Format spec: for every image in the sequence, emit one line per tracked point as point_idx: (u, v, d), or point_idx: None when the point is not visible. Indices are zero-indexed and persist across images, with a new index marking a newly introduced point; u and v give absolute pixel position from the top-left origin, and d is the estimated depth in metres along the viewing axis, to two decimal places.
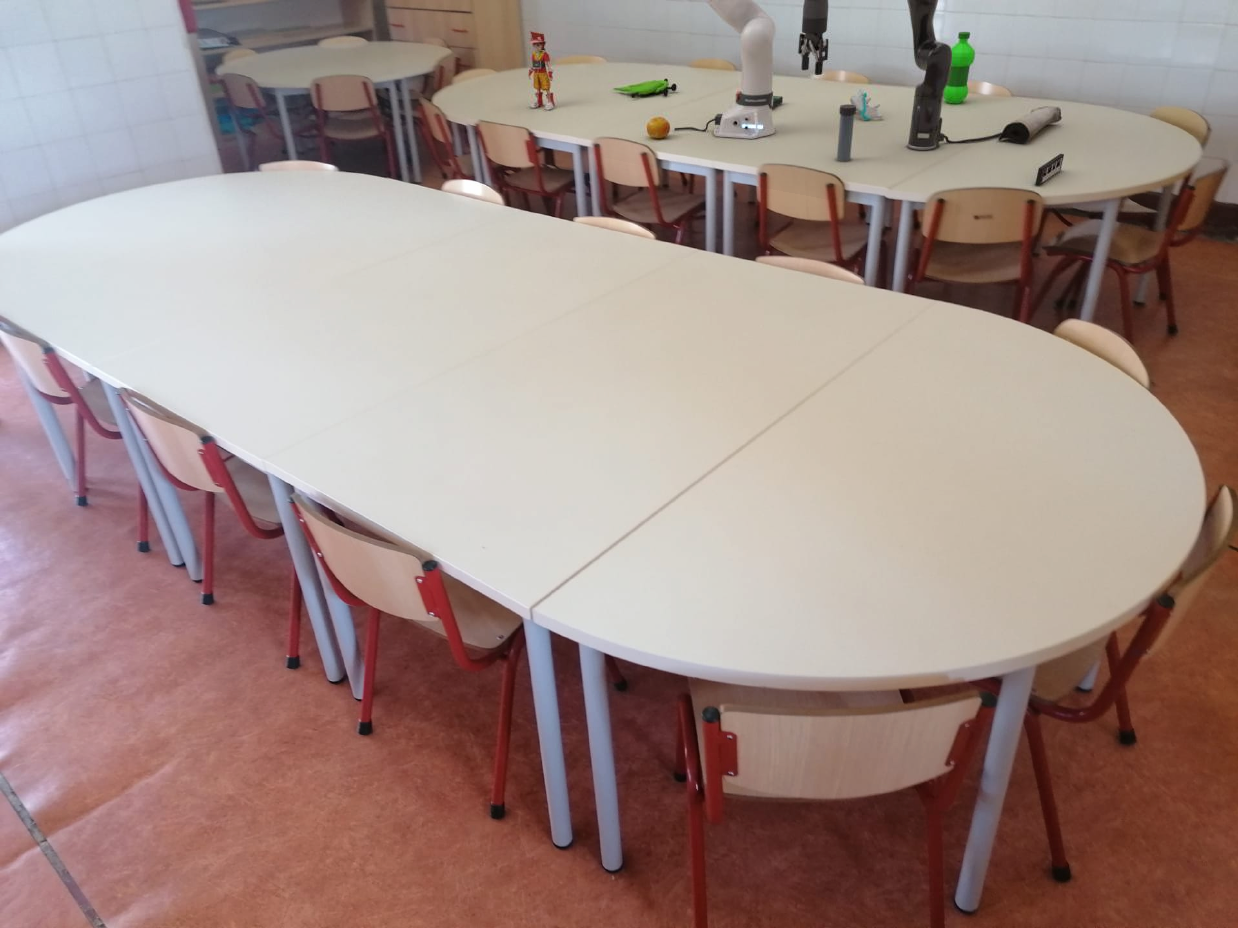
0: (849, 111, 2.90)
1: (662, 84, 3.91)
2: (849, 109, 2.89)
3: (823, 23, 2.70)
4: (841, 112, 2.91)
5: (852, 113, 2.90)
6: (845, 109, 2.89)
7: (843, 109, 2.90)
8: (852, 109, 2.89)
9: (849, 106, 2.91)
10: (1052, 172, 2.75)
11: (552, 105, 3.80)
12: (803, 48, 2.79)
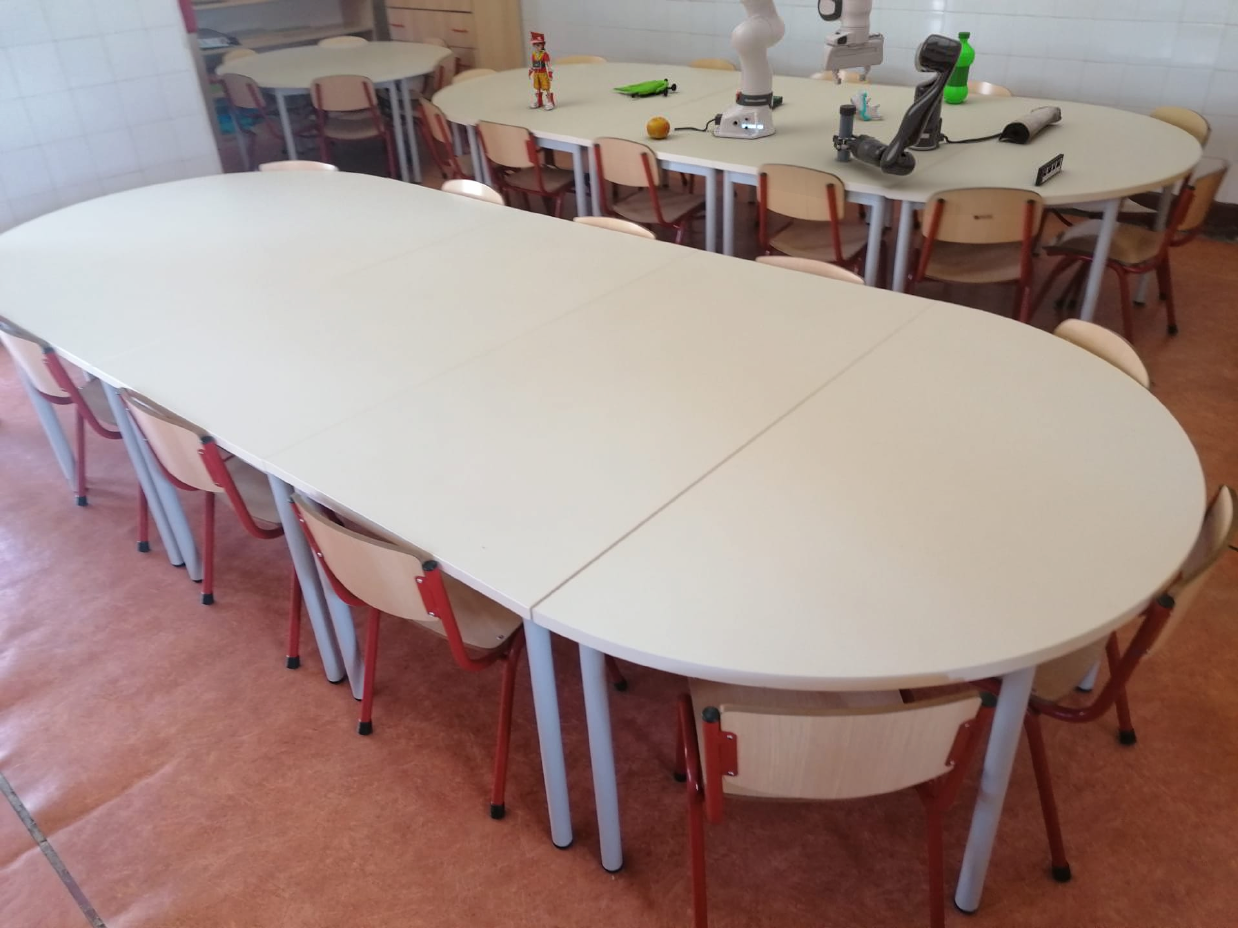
0: (849, 111, 2.90)
1: (662, 84, 3.91)
2: (849, 109, 2.89)
3: None
4: (841, 112, 2.91)
5: (852, 113, 2.90)
6: (845, 109, 2.89)
7: (843, 109, 2.90)
8: (852, 109, 2.89)
9: (849, 106, 2.91)
10: (1052, 172, 2.75)
11: (552, 105, 3.80)
12: None
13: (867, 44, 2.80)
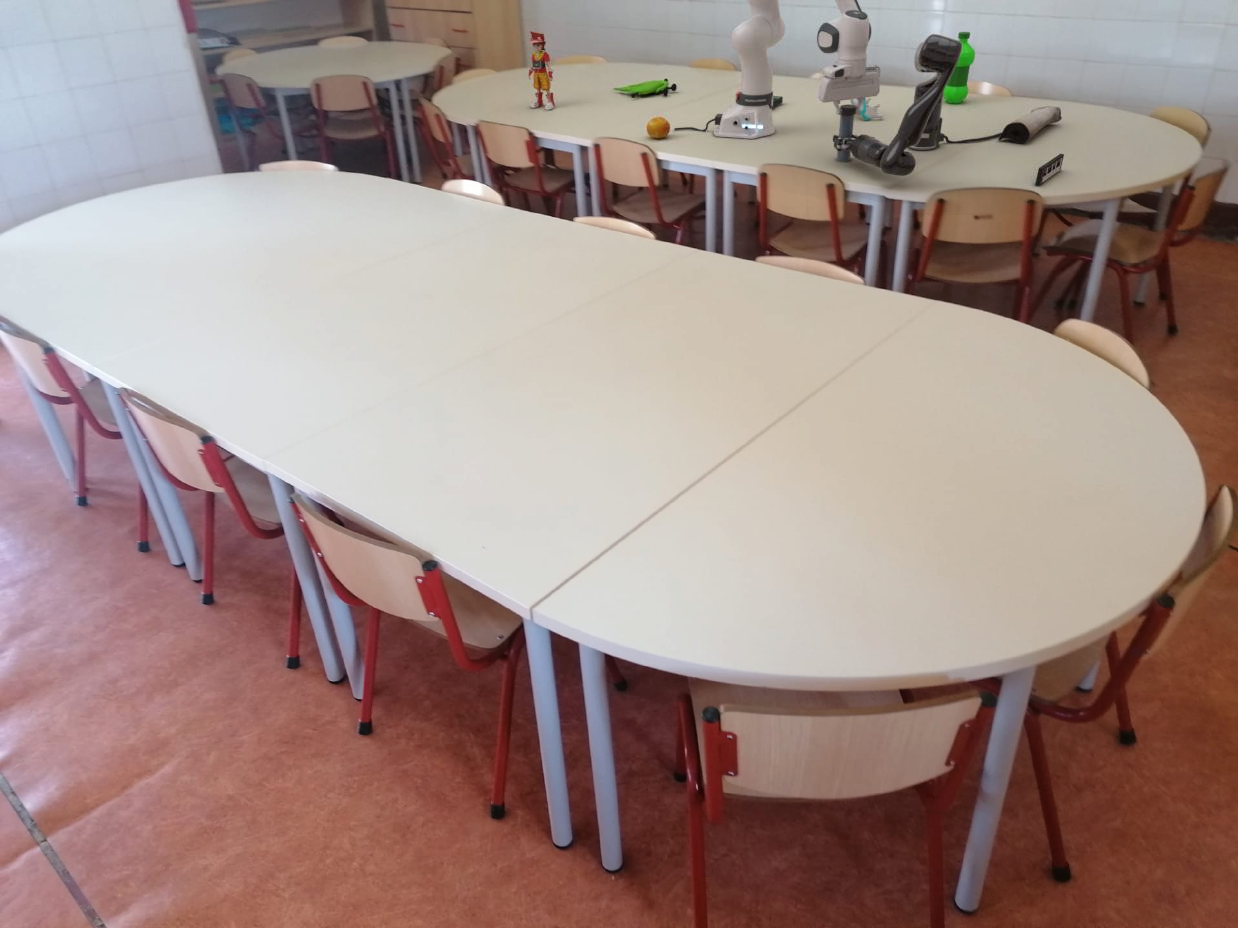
0: (849, 111, 2.90)
1: (662, 84, 3.91)
2: (849, 109, 2.89)
3: None
4: None
5: (852, 113, 2.90)
6: (845, 109, 2.89)
7: (844, 109, 2.90)
8: (852, 109, 2.89)
9: (849, 106, 2.91)
10: (1052, 172, 2.75)
11: (552, 105, 3.80)
12: None
13: (864, 76, 2.85)
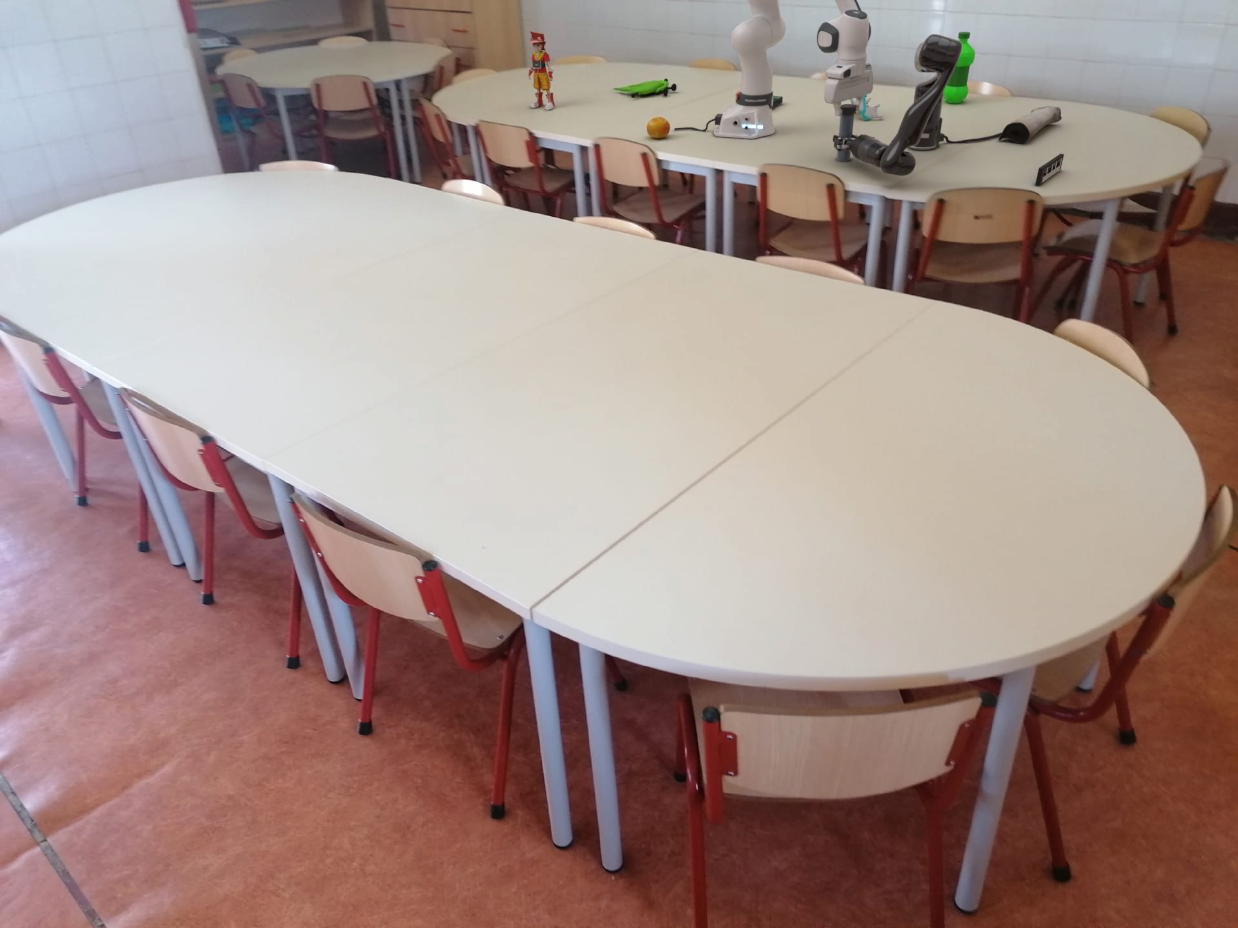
0: (854, 109, 2.90)
1: (662, 84, 3.91)
2: (855, 107, 2.90)
3: None
4: (847, 112, 2.90)
5: None
6: (852, 108, 2.89)
7: (851, 109, 2.89)
8: (855, 107, 2.91)
9: (849, 105, 2.91)
10: (1052, 172, 2.75)
11: (552, 105, 3.80)
12: None
13: (862, 75, 2.86)
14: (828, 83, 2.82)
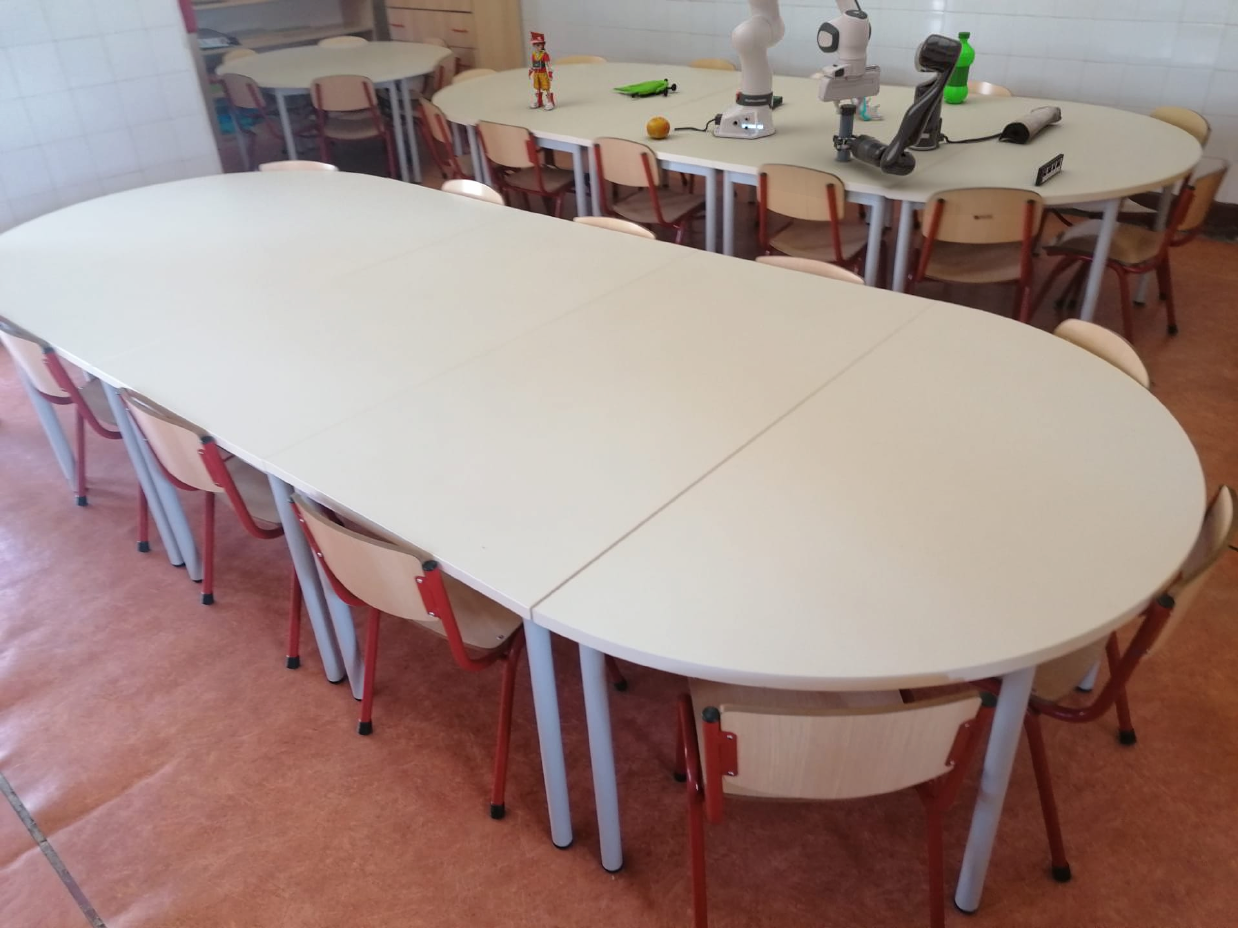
0: (854, 109, 2.90)
1: (662, 84, 3.91)
2: (855, 107, 2.90)
3: None
4: (847, 112, 2.90)
5: None
6: (852, 108, 2.89)
7: (851, 109, 2.89)
8: (855, 107, 2.91)
9: (849, 105, 2.91)
10: (1052, 172, 2.75)
11: (552, 105, 3.80)
12: None
13: (864, 76, 2.85)
14: (822, 81, 2.85)
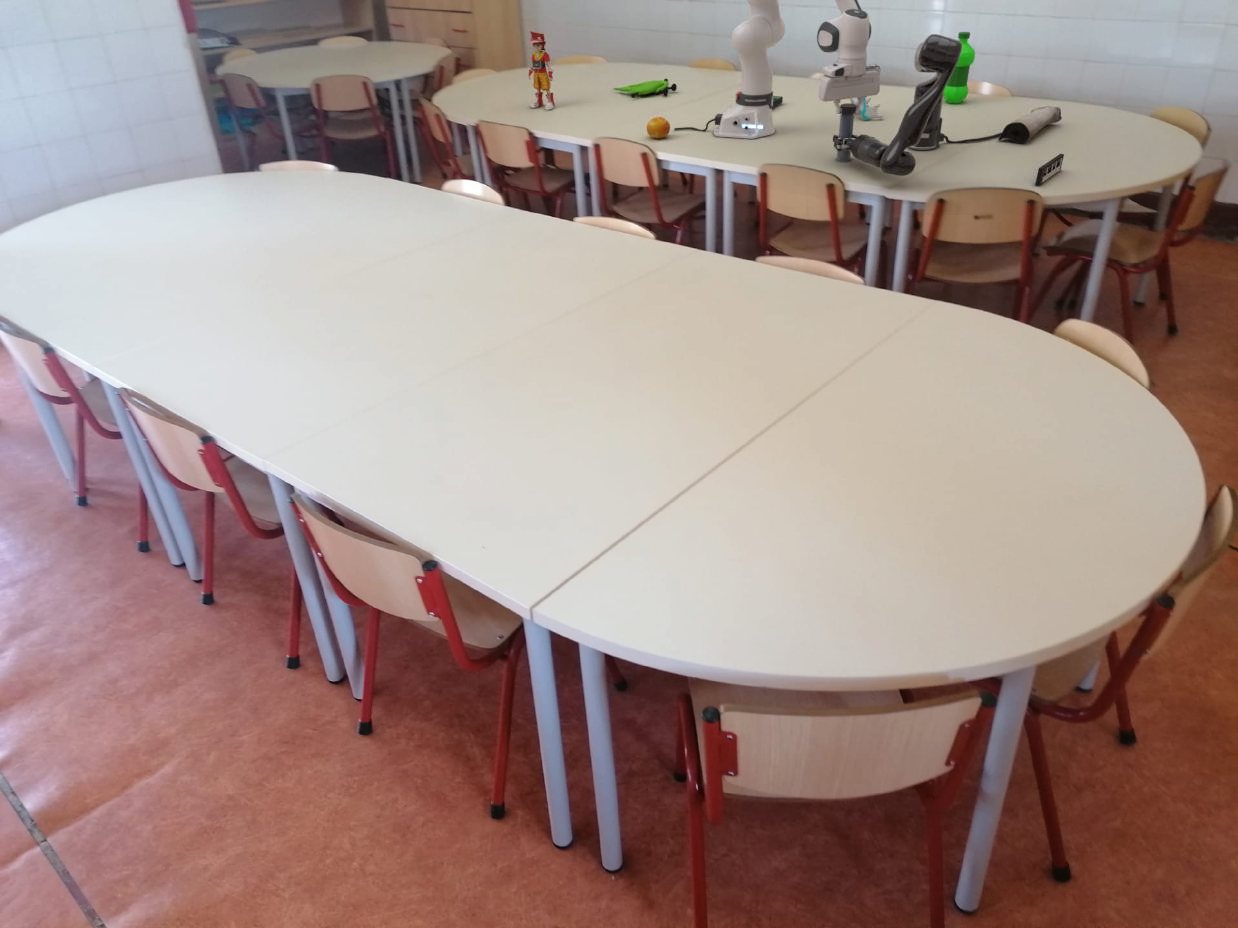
0: None
1: (662, 84, 3.91)
2: None
3: None
4: (854, 111, 2.90)
5: None
6: (855, 106, 2.90)
7: (855, 107, 2.90)
8: None
9: (848, 104, 2.91)
10: (1052, 172, 2.75)
11: (552, 105, 3.80)
12: None
13: (864, 75, 2.85)
14: (822, 80, 2.85)
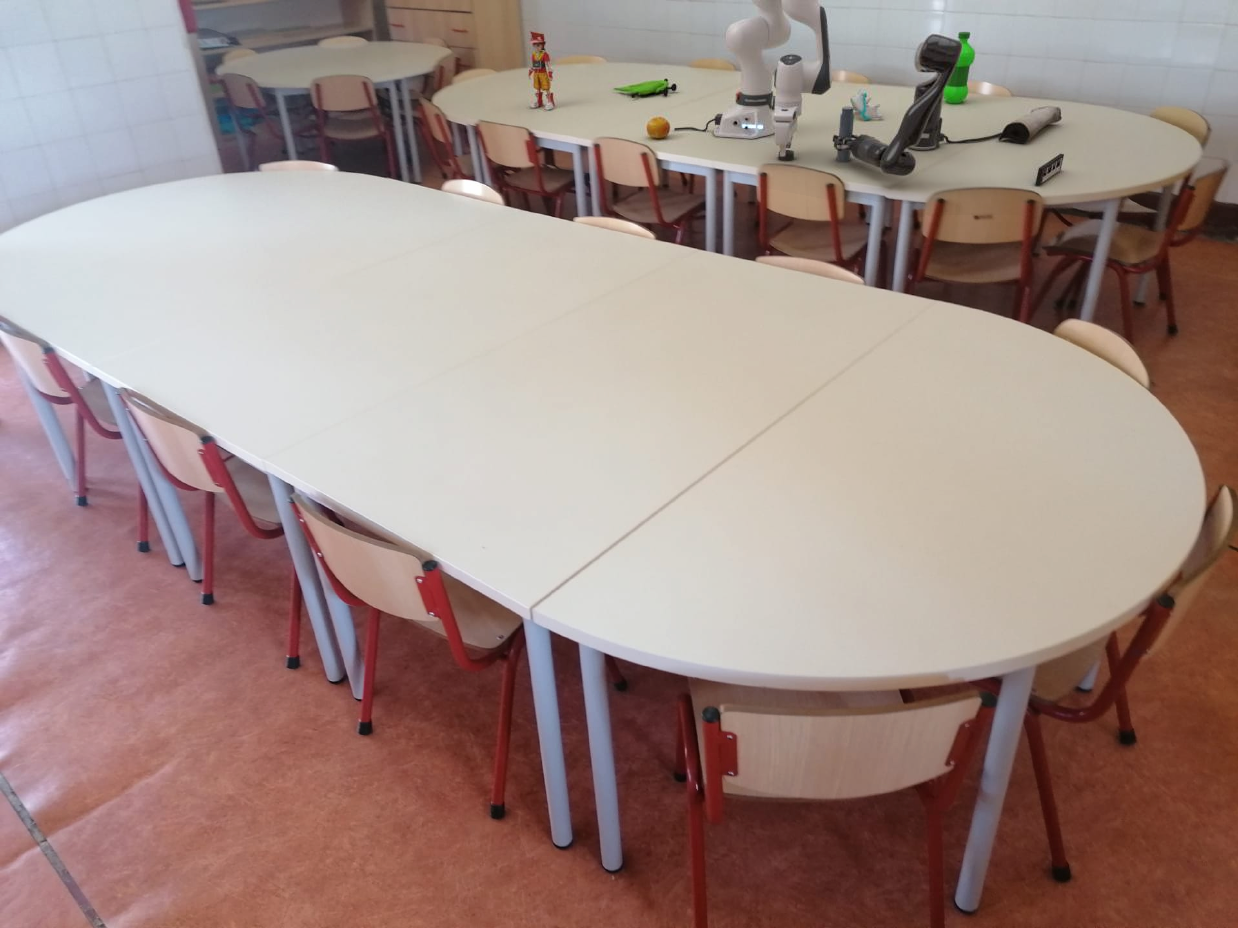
0: None
1: (662, 84, 3.91)
2: None
3: None
4: None
5: None
6: None
7: None
8: None
9: None
10: (1052, 172, 2.75)
11: (552, 105, 3.80)
12: None
13: None
14: (778, 126, 2.91)
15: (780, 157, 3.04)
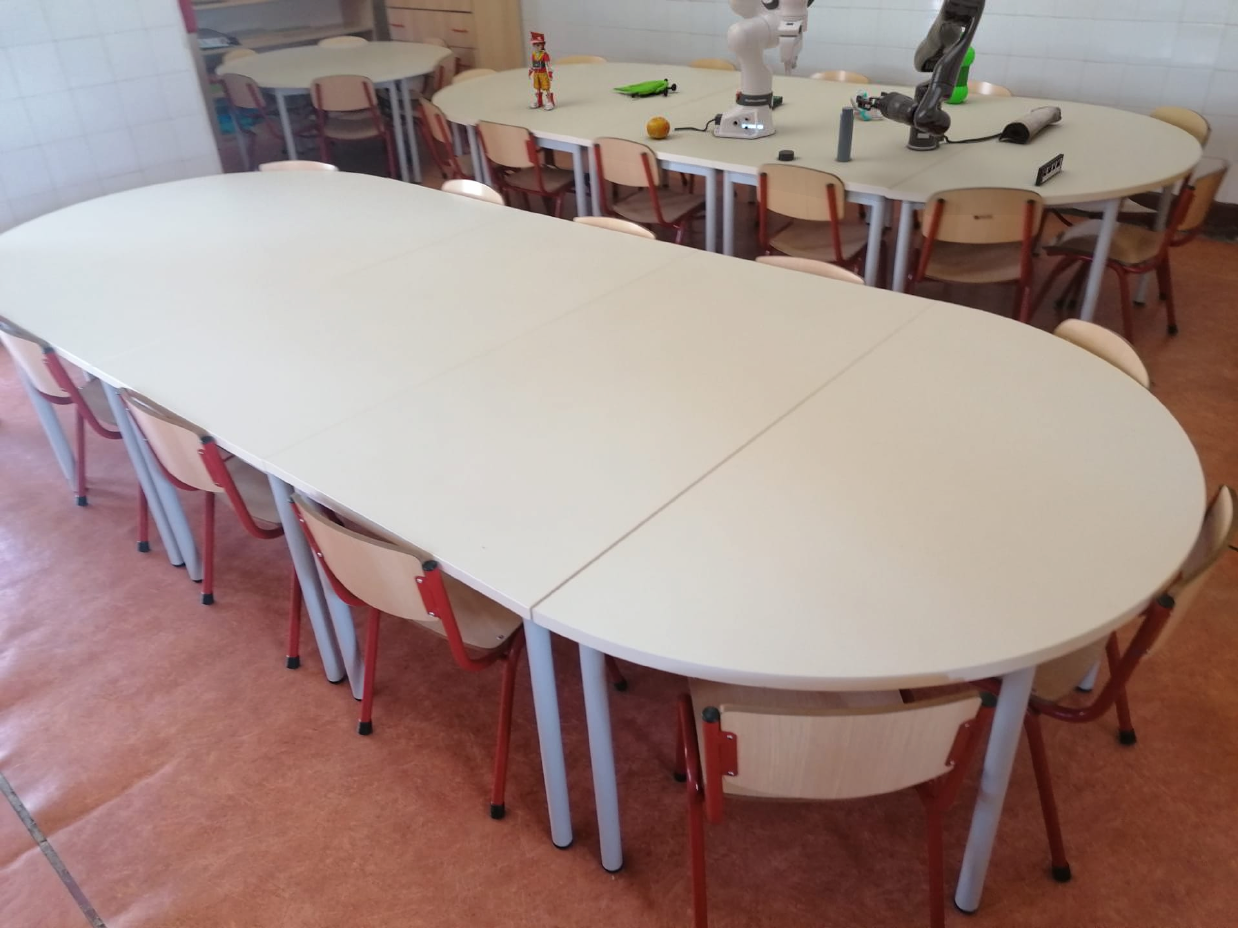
0: None
1: (662, 84, 3.91)
2: None
3: None
4: None
5: None
6: None
7: None
8: None
9: (785, 151, 3.04)
10: (1052, 172, 2.75)
11: (552, 105, 3.80)
12: None
13: None
14: (783, 41, 2.76)
15: (780, 157, 3.04)
